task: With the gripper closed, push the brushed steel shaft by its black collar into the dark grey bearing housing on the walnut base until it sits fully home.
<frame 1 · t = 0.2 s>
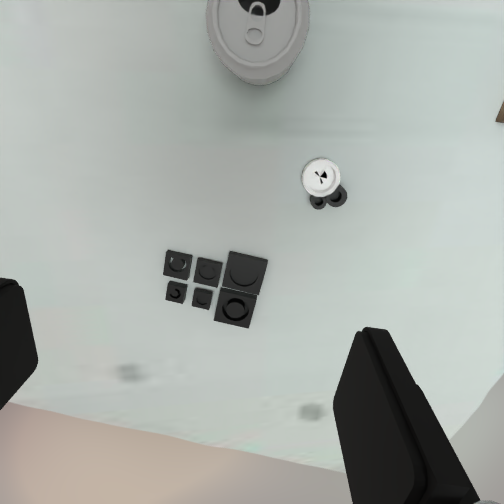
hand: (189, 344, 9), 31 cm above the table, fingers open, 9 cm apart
can: (260, 44, 32), on the table
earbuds: (246, 240, 42), on the table
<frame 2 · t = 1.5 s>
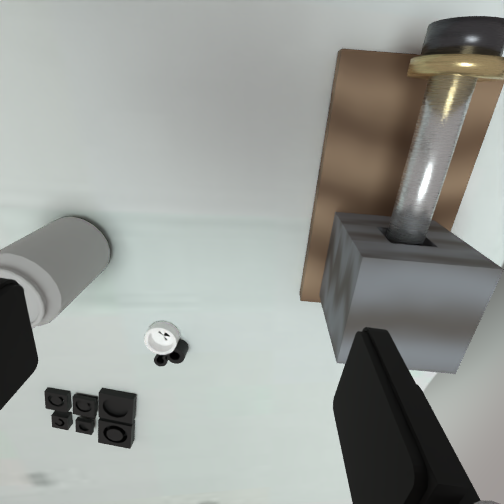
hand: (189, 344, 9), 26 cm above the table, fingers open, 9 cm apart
shaft: (424, 171, 25), point 7 cm above the table, slide at -8.0 cm
can: (82, 244, 37), on the table
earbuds: (116, 377, 47), on the table
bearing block: (392, 163, 31), on the table
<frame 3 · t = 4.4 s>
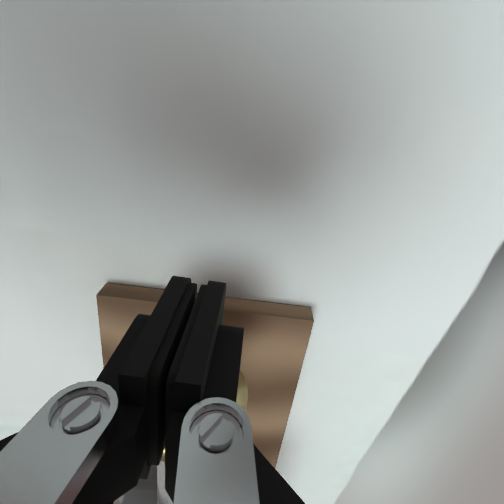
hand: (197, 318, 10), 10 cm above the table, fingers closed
shaft: (183, 477, 19), point 7 cm above the table, slide at -8.0 cm
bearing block: (201, 388, 26), on the table
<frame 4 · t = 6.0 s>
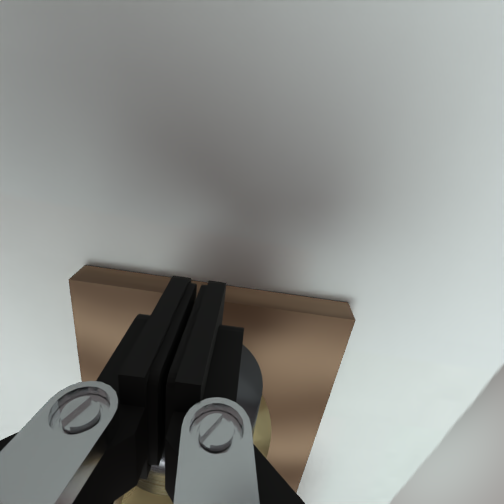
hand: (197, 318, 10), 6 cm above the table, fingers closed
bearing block: (205, 402, 21), on the table
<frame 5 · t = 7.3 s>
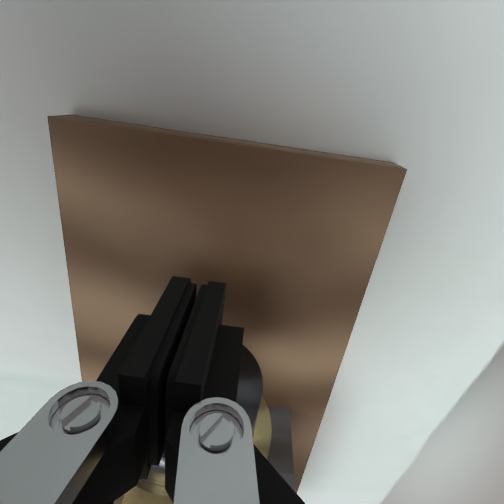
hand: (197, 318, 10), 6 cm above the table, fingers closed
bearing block: (214, 310, 17), on the table
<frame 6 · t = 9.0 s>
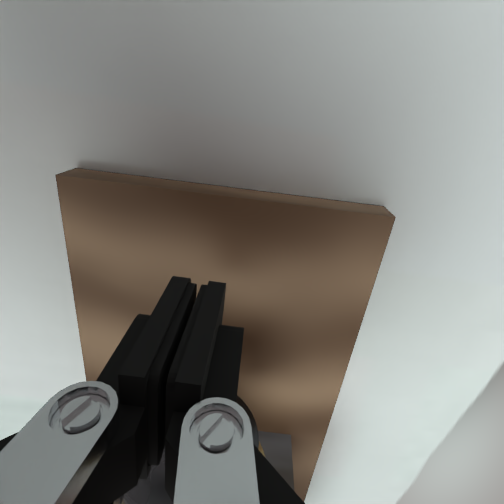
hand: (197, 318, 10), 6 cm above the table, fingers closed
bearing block: (216, 342, 18), on the table
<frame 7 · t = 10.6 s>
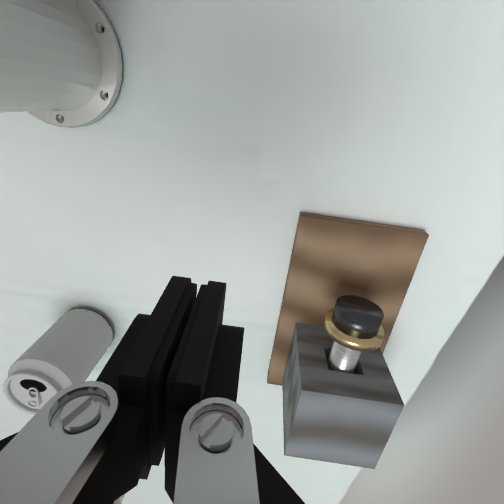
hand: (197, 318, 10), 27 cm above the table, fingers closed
shaft: (337, 376, 36), point 7 cm above the table, slide at 0.0 cm
can: (90, 326, 45), on the table
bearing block: (341, 288, 40), on the table
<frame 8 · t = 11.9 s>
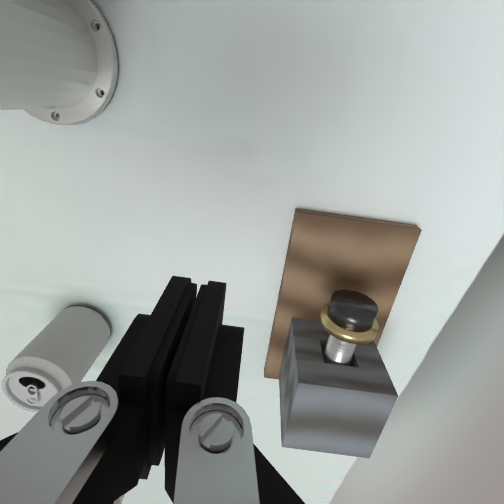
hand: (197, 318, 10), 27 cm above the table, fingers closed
shaft: (333, 369, 37), point 7 cm above the table, slide at 0.0 cm
can: (87, 323, 45), on the table
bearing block: (336, 283, 40), on the table
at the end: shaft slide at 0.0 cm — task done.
